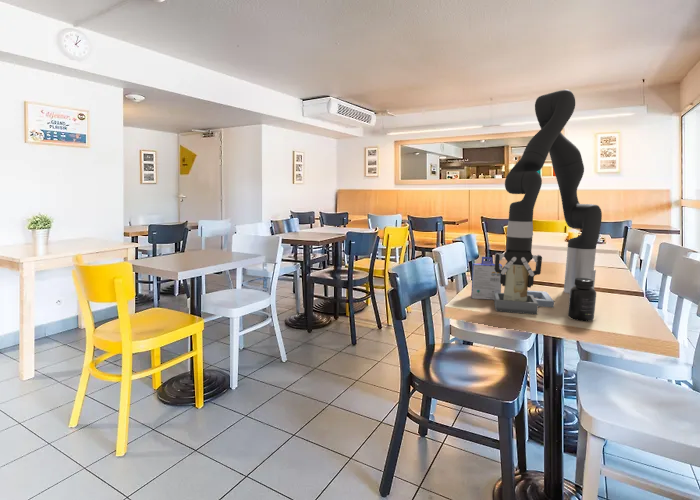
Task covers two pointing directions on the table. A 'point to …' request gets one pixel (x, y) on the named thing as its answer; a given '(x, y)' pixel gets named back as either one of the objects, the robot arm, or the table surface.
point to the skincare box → (516, 283)
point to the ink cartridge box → (485, 280)
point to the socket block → (542, 298)
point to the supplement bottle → (582, 300)
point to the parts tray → (515, 304)
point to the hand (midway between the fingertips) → (516, 286)
